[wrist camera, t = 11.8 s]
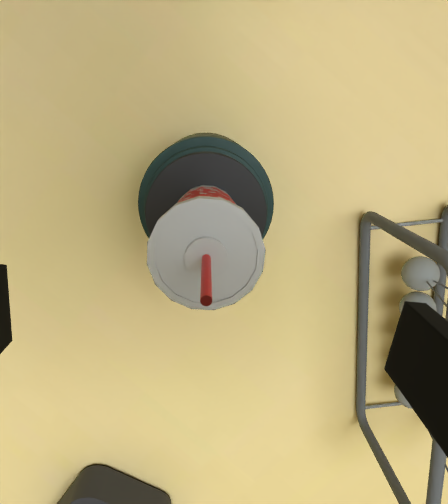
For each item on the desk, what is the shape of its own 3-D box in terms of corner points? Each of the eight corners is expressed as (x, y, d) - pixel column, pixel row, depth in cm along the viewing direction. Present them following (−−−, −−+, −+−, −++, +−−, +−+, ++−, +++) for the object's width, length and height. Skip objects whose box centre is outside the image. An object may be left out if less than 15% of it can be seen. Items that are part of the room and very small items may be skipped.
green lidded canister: (182, 113, 39) (170, 107, 25) (275, 163, 41) (308, 183, 27) (139, 207, 41) (107, 246, 28) (227, 250, 44) (236, 305, 30)
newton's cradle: (358, 207, 43) (458, 263, 26) (450, 198, 43) (609, 246, 26) (354, 419, 52) (425, 558, 36) (429, 410, 52) (534, 546, 36)
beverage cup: (251, 250, 29) (289, 358, 16) (171, 259, 29) (142, 376, 16) (243, 169, 27) (279, 214, 14) (158, 179, 27) (110, 235, 14)
